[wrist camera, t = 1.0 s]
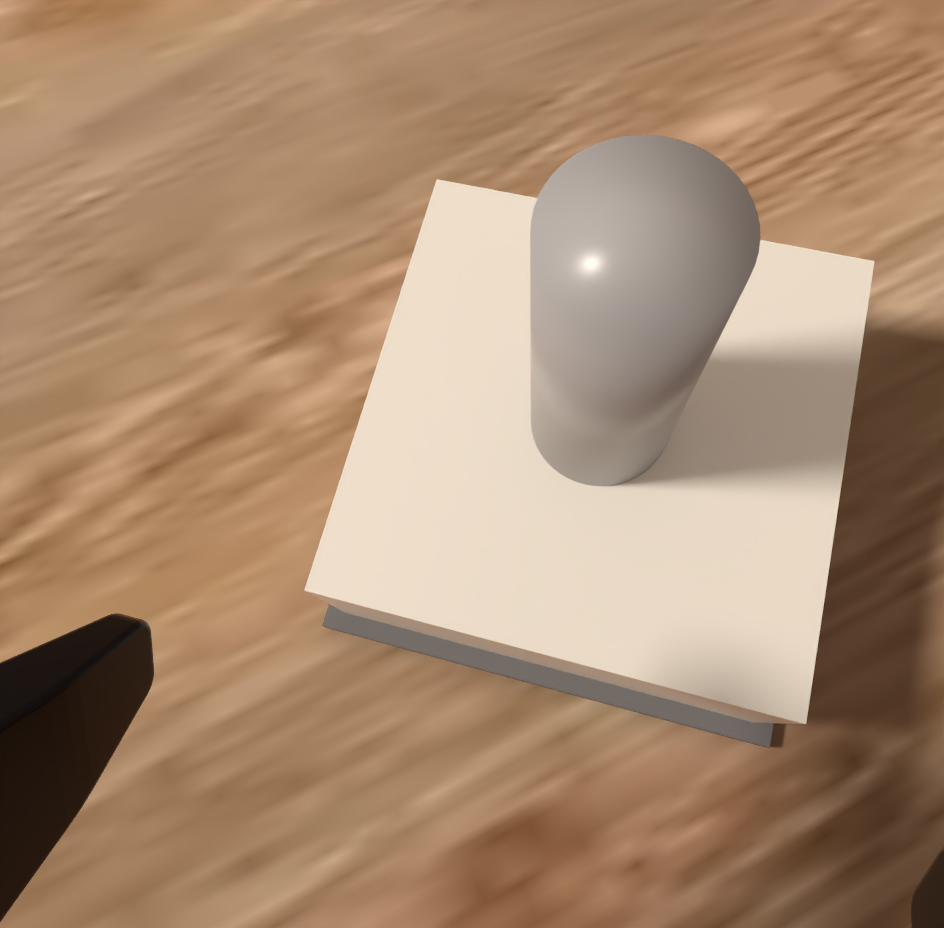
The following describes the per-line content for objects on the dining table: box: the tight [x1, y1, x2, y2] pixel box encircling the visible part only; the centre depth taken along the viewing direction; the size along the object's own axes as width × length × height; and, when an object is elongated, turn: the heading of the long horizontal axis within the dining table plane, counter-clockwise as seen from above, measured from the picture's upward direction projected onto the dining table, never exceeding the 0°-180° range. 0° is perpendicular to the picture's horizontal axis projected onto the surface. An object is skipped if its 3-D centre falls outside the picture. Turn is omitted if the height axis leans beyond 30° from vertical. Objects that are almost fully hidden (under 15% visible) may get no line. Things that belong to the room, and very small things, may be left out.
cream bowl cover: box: [304, 135, 874, 724], centre depth 17 cm, size 11×11×12 cm
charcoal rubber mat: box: [323, 604, 774, 748], centre depth 23 cm, size 12×12×1 cm
